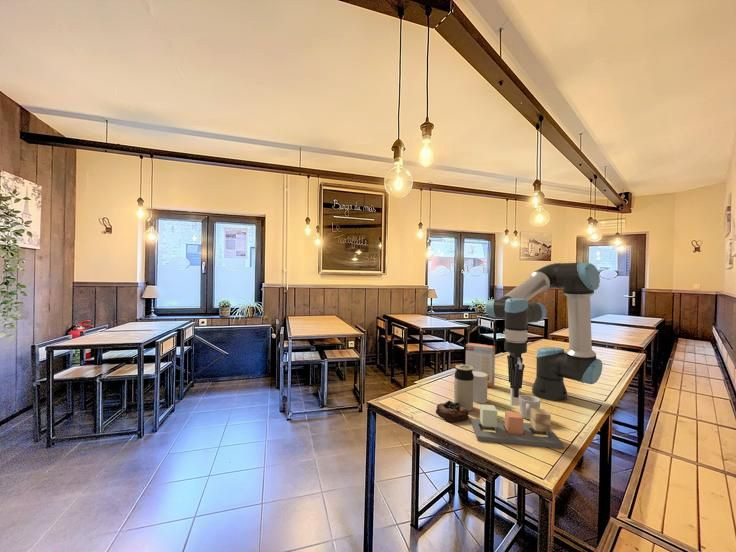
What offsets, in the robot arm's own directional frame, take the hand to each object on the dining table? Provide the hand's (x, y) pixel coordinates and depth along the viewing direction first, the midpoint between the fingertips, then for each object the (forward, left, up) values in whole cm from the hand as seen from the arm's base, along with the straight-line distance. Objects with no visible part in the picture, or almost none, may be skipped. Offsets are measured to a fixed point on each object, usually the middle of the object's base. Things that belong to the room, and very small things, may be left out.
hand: (514, 404), depth 119 cm
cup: (-10, -15, -11) cm, 21 cm away
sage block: (+9, 0, -8) cm, 12 cm away
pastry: (+21, -12, -11) cm, 27 cm away
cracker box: (+2, -55, -11) cm, 56 cm away
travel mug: (+15, -21, -11) cm, 28 cm away
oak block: (-9, 0, -8) cm, 12 cm away
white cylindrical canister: (+7, -32, -11) cm, 34 cm away
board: (0, 0, -11) cm, 11 cm away
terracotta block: (0, 0, -10) cm, 10 cm away
